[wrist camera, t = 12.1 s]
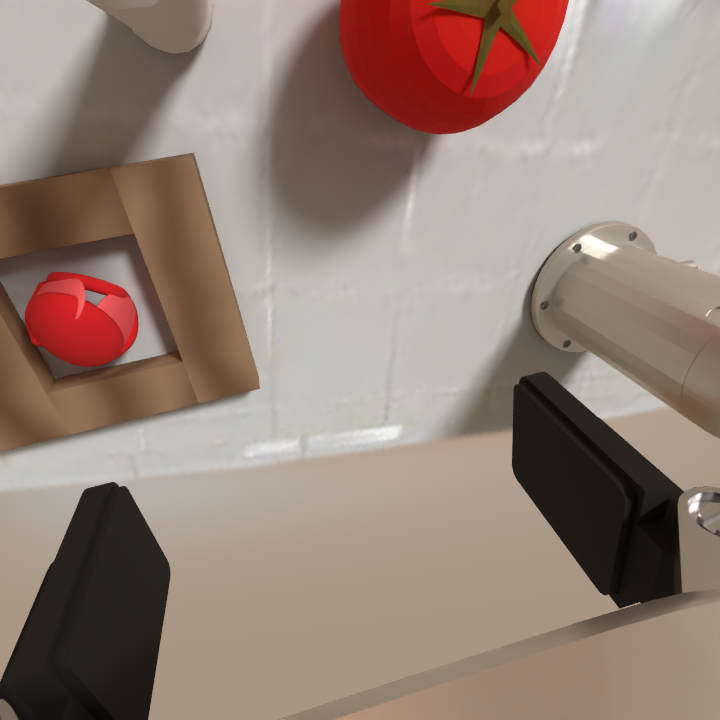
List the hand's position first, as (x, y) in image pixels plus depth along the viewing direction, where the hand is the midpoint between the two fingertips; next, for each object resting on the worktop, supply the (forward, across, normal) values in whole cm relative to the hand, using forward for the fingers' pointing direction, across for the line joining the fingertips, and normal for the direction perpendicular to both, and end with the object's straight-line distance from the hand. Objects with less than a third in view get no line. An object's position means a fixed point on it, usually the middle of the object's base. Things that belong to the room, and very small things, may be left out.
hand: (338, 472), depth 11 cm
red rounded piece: (+27, +14, +3) cm, 31 cm away
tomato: (+28, -12, -10) cm, 32 cm away
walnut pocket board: (+27, +14, +3) cm, 31 cm away
